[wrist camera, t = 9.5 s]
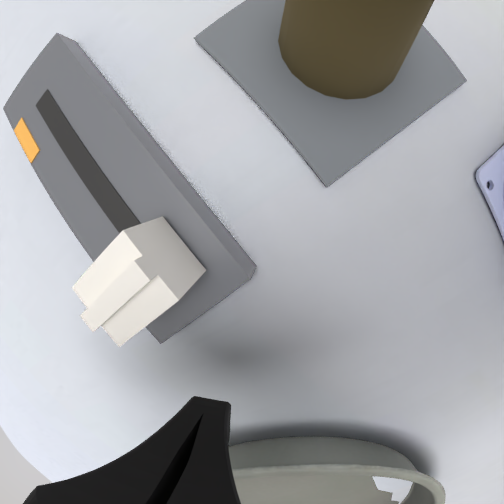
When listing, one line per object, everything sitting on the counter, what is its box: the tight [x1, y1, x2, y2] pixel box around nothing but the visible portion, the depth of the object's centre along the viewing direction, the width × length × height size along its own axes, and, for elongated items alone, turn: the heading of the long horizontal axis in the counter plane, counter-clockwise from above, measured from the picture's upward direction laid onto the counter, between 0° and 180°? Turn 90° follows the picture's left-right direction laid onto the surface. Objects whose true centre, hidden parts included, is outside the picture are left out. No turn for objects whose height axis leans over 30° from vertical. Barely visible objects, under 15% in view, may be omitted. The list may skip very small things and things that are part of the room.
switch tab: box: [72, 216, 206, 347], centre depth 12 cm, size 3×4×4 cm
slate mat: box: [194, 0, 467, 187], centre depth 12 cm, size 10×10×1 cm
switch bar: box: [3, 33, 256, 344], centre depth 14 cm, size 18×6×2 cm, turn 39°
